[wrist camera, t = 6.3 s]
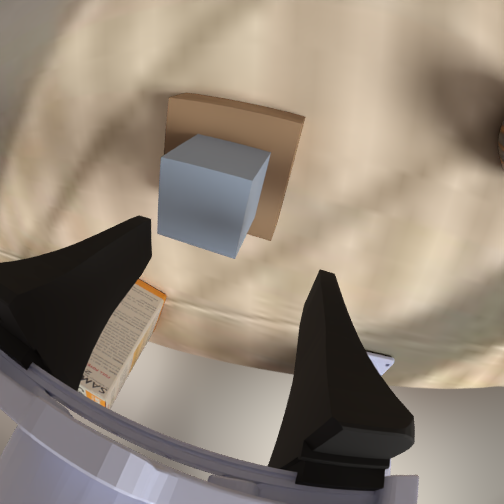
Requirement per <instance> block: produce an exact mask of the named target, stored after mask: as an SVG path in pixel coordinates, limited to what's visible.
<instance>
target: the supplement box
mask: <svg viewBox="0 0 504 504" xmlns="http://www.w3.org/2000/svg"><path fill="white" fill-rule="evenodd" d="M166 297H167V296H166V295H165V294H163V293H162V292H160V291H158V290H157V289H155V288H153V287H152V286H150V285H148V284H146V283H145V282H143V281H141V280H139V279H138V280H137V281H136V283H135V284H134V285H133V287H132V288H131V289H130V291H129V292H128V293H127V295H126V296H125V297H124V299H123V300H122V301H121V303H120V304H119V305H118V307H117V308H116V309H115V311H114V312H113V314H112V315H111V317H110V319H109V320H108V322H107V324H106V326H105V328H104V329H103V331H102V333H101V335H100V337H99V339H98V341H97V343H96V345H95V347H94V349H93V352H92V354H91V356H90V359H89V361H88V363H87V366H86V368H85V371H84V374H83V376H82V379H81V382H80V385H79V388H78V391H77V392H79V393H81V394H82V395H84V396H86V397H88V398H89V399H91V400H93V401H95V402H97V403H98V404H100V405H102V406H104V407H106V408H108V409H111V407H112V405H113V403H114V401H115V399H116V397H117V395H118V394H119V392H120V390H121V388H122V386H123V385H124V383H125V381H126V379H127V377H128V375H129V373H130V372H131V370H132V368H133V366H134V365H135V362H136V361H137V359H138V357H139V356H140V354H141V352H142V350H143V349H144V347H145V345H146V344H147V342H148V340H149V338H150V337H151V335H152V333H153V332H154V330H155V327H156V324H157V322H158V319H159V317H160V314H161V311H162V308H163V305H164V302H165V300H166Z"/></svg>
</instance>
